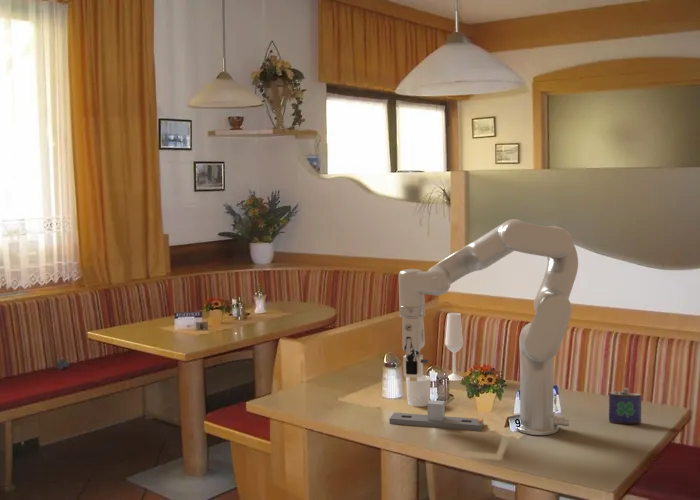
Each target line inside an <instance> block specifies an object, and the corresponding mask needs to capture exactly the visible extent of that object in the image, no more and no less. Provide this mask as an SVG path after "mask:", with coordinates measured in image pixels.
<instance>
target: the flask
mask: <svg viewBox="0 0 700 500" xmlns="http://www.w3.org/2000/svg"><path fill="white" fill-rule="evenodd" d="M608 398H609V399H608V403H609V405H608V406H609V407H608V422H609V424H616V425H641V423H642V394H641V393H637V392H635V393H629V388H628V387H624V388H623V390H622V391H617V390H615V391H612V392H609V394H608Z"/></svg>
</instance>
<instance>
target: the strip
mask: <svg viewBox="0 0 700 500" xmlns="http://www.w3.org/2000/svg"><path fill="white" fill-rule="evenodd" d="M389 424H391V425H401V426H402V425H403V426H404V425H405V426H414V427H415V426H418V427H428V428H429V427H430V428H440V429H451V430H452V429H453V430H468V431H477V432H478V431H482V428H483V426H484V419H483V418H473V417H472V418H471V417H460V416H459V417H457V416H448V415H447V416H446V415H445V418H444V420H443V421H432V420H428V414H420V413H419V414H418V413H407V412H405V413H404V412H393V413H392V415H391V416H390V417H389Z"/></svg>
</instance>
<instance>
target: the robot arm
mask: <svg viewBox="0 0 700 500" xmlns="http://www.w3.org/2000/svg"><path fill="white" fill-rule="evenodd" d="M513 252H518V253H523V254H526V255H533V256H539V257H545V258H547V265H546V269H545V272H544V276H543V279H542V282H541V284H540V286H539V289H538V291H537V293H536V296H535V298H534V301H533V309H534V311H535V313H534V316H533V318H532V321H531V322H529V323H527V324H526V325H524V326H523V328H521V331H520V334H519V338H518V341H519V342H518V343H519V345H518V346H519V366H520V369H519V370H520V371H519V372H520V373H519V375H520V376H519V420H520V419H521V425H522V426H521V427H517V430H516V431H518V432H520V433H523V434H526V435H532V436H547V435H548V436H549V435H553V434H556V433H557V432H559V429H560V428H559V427H560V426H563V427H569V426H570V419H566V417H560V416H559V417H558V416H557V415H556V412H555V411H554V377H555V376H554V375H555V373H554V371H555V369H554V368H555V367H554V365H555V363H554V357H555V356H556V355H557V354H558V352H559V349H560V347H561V345H562V341H563V340H564V336H565V334H566V331H567V329H568V326H569V323H570V321H571V317H572V309H573V307H572V303H571V301H570V295H571V292H572V290H573V287H574V283H575V280H576V278H577V274H578V271H579V270H578V269H579V257H578V253H577V248H576V246H575V244H574V239H573V237H572V235H571V234H570V232H569V231H567V230H566V229H565V228H563V227H560V226H558V225H548V226H546V225H542V224H536V223H529V222H525V221H522V220H521V219H517V218H511V219H508V220H506V221H504V222H502V223H501V224H500V225H497V226H496V227H495V228H493V229H491V230H490V231H488V232H486V233H484V234H483V235H481V236H480V237H478V238H477V239H476V240H474V241H472V242H470V243H469V244H467V245H465V246H464V247H462V248H461V249H459V250H457V251H455V252H454V253H452V254H450V255H449V256H447V257H446V258H444V259H442V260H441V261H439V262H437V263H436V264H434V265H432V266H431V267H430V268H429V269H428V270H425V271H423V270H421V269H419V268H418V269H417V268H407V269H406V268H405V269H402V270H400V271H399V272H398V302H399V303H398V305H399V307H398V308H399V311H398V312H399V317H400V318H402V324H401V325H402V327H401V328H402V330H401V333H402V335H401V336H402V337H401V338H402V340H401V341H402V342H401V343H402V350H403V351H404V352H405V355H406V373H407V374H414V375H416V374H417V361H416V354H419V355H421V350H422V349H423V348H424V347H425V345H426V337H425V335H426V333H425V325H424V324H425V323H424V322H425V321H424V317H426V306H425V305H426V304H425V303H426V301H425V300H426V298H425V295H430V296H441V295H445V294H446V293H448V291H449V290H450V288H451V284H453V283H455V282H457V281H458V280H460V279H461V278H463V277H465V276H467V275H470V274H471V273H473V272H478V271H482V270H485V269H487V268H489V267H490V266H492V265H493V264H496V262H498V261H500V260H501V259H503V258H505V257H507V256H508V255H510V254H512V253H513Z"/></svg>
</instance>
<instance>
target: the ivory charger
mask: <svg viewBox="0 0 700 500" xmlns="http://www.w3.org/2000/svg"><path fill="white" fill-rule="evenodd" d="M423 357H424V355H423V354H420V355H419V354H416V361H417V374H416V375H414V374H407V373H406V354H405V355H403V357H402V358H403V359H402V361H403V362H402V364H403V366H402V368H403V369H402V370H403V378H406V377H410V381H417V378H420V377H421V376H422V375H424V364H428V363H429V359H424V358H423Z"/></svg>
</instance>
